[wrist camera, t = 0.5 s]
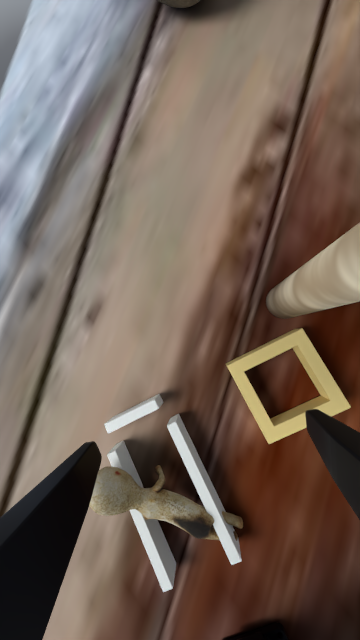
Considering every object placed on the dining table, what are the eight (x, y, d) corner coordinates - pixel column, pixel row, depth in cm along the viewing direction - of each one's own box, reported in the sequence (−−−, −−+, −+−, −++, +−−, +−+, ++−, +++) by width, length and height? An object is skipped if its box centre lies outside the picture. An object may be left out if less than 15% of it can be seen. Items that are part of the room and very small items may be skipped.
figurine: (236, 490, 21) (106, 445, 20) (255, 535, 17) (90, 481, 16) (223, 522, 21) (91, 479, 20) (239, 577, 17) (71, 526, 15)
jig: (385, 478, 18) (407, 495, 16) (167, 567, 20) (163, 592, 18) (293, 326, 20) (302, 325, 18) (106, 420, 22) (96, 428, 20)
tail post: (309, 308, 20) (527, 246, 6) (277, 324, 20) (418, 299, 7) (290, 278, 21) (454, 162, 7) (259, 295, 21) (356, 215, 7)
